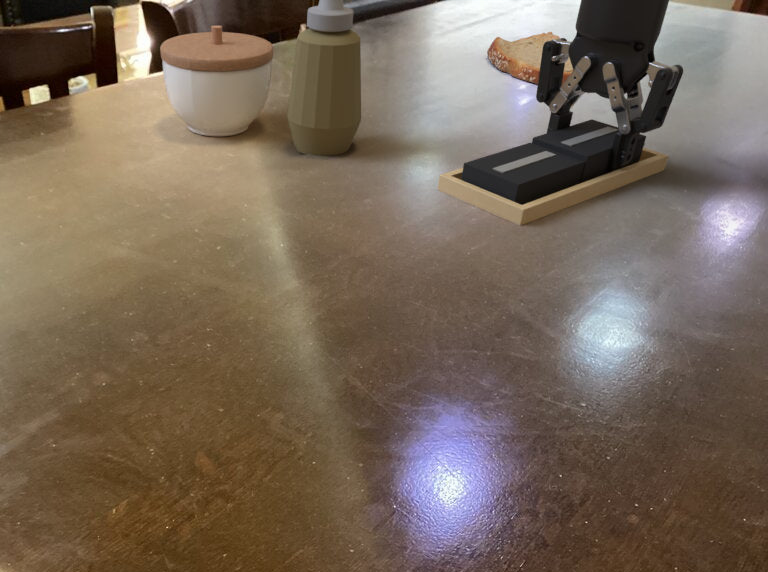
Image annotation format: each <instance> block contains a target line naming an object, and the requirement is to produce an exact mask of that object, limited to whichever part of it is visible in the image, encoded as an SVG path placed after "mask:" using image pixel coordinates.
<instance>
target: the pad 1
mask: <svg viewBox="0 0 768 572" xmlns="http://www.w3.org/2000/svg"><path fill="white" fill-rule="evenodd" d="M584 164H585V161H582V160H579V159H576V158H573V157H570V156H568V155H565V154H562V153H559V152H556V151H553V150H550V149H547V148H545V147H542V146H539V145H536V144H533V143H532V142H527V143H525V144H524V143H523V144H521V145H518V146H515V147H512V148H507V149H505V150H502V151H501V150H500V151H499V152H495V153H492V154H488V155H485V156H482V157H479V158H476V159H473V160H470V161H466V162H463V167H462V168H463V172H462V178H461V180H462V181H465V182H467V183H470V184H472V185H475V186H477V187H479V188H482V189H484V190H487V191H489V192H492V193H494V194H496V195H499V196H501V197H504V198H506V199H509V200H511V201H513V202H516V203H518V204H521V205H523V204H526V203H529V202H532V201H534V200H537V199H540V198H542V197H545V196H548V195H551V194H553V193H556V192H559V191H561V190H564V189H567V188H569V187H572V186H575V185H578V184H579V183H580V179H581V175H582V171H583V168H584Z"/></svg>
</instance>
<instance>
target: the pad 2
mask: <svg viewBox="0 0 768 572" xmlns="http://www.w3.org/2000/svg"><path fill="white" fill-rule="evenodd" d="M618 132H619V129H618V126H616V125H612V124H608V123H605V122H602V121H598V120H596V119H588V120H585V121H581V122H579V123H575V124H573V125H570V126H569V127H566V128H562V129H559V130H556V131H553V132H550V133H547V132H546V133H544V134H540V135H537V136H534V137H532V140H531V143H533V144H536V145H539V146H542V147H545V148H547V149H550V150H553V151H556V152H559V153H562V154H565V155H568V156H570V157H573V158H576V159H579V160H582V161H585V164H584V168H583V171H582V175H581V179H580V183H583V182H586V181H588V180H591V179H594V178H597V177H599V176H602V175H605V174H607V173H610V172H613V170H610V169H608V168H607V165H608V161H609V158H610V154H611V150H612V145H613V142H614V138H615V134H616V133H618ZM646 139H647V135H644V134H642V133H640V134H639V136H638V139H637V143H636V146H635V149H634V153H633V157H632V160H631V161H630V162H629V164H626V165H625V166H624V167H626V166H629V165H632V164H635V163H637V162H639V160H640V156H641V153H642V149H643V148H644V146H645V142H646ZM624 167H623V168H624ZM580 183H579V184H580Z"/></svg>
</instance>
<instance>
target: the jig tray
mask: <svg viewBox="0 0 768 572" xmlns="http://www.w3.org/2000/svg"><path fill="white" fill-rule="evenodd" d="M669 156H670V155H669V154H665V153H662V152H659V151H656V150H653V149H649V148H647V147H643V149H642V153H641V156H640V160H639V162H637V163H635V164H632V165H629V166H626V167H624V168H621V169H618V170H616V171H613V172H610V173H607V174H605V175H602V176H599V177H597V178H594V179H591V180H588V181H586V182H583V183H580V184H578V185H575V186H572V187H569V188H567V189H564V190H561V191H559V192H556V193H553V194H551V195H548V196H545V197H542V198H540V199H537V200H534V201H532V202H529V203H526V204H523V205H521V204H518V203H516V202H513V201H511V200H509V199H506V198H504V197H501V196H499V195H496V194H494V193H492V192H489V191H487V190H484V189H482V188H479V187H477V186H475V185H472V184H470V183H467V182H465V181H462V180H461V178H462V172H463V167H460V168H457V169H454V170H451V171H448V172H445V173H442V174H439V179H438V185H437V191H438V192H441V193H444V194H446V195H448V196H451V197H452V198H455V199H457V200H460V201H462V202H465V204H466V203H467V204H469V205H470V206H471V205H472V206H473V207H476V208H477V209H481V210H483V211H485V212H488V213H489V214H491V215H494V216H497V217H499V218H501V219H503V220H506V221H508V222H511V223H512V224H515V225H517V226H523V225H526V224H529V223H532V222H534V221H536V220H539V219H541V218H544V217H546V216H549V215H552V214H554V213H557V212H560V211H562V210H564V209H567V208H570V207H573V206H575V205H578V204H581V203H583V202H586V201H588V200H590V199H593V198H596V197H598V196H601V195H603V194H606V193H608V192H611V191H614V190H616V189H619V188H621V187H624V186H626V185H630V184H631V183H632V184H633V183H634V182H637V181H640V180H642V179H645V178H647V177H651V176H653V175H654V174H658V173H660V172H662V171H664V170H665V169H666V166H667V162H668V159H669Z"/></svg>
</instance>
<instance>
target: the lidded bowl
mask: <svg viewBox="0 0 768 572" xmlns="http://www.w3.org/2000/svg"><path fill="white" fill-rule="evenodd" d="M159 48H160V50H159V51H160V58H161V60H162V62H161V63H162V75H163V82H164V88H165V93H166V96H167V100H168V101H169V104H170V107H171V108H172V109H173V111H174V112H175V114H176V116H178V117H179V119H180V120H181V121H182V122H183V123H185V124H186V125H187V129H188V130H189V131H190V132H192V133H195V134H198V135H201V136H205V137H229V136H235V135H239V134H241V133H244V132H246V131H248V129H249V125H250V124H252V123H253V121H255V120H256V119H257V118H258V116H259V115H260V114H261V112H262V110H263V109H264V107H265V105H266V103H267V100H268V97H269V93H270V87H271V81H272V71H273V58H274V46H273V44H272V42H271V41H268V40H267V39H265V38H262V37H259V36H256V35H251V34H247V33H240V32H228V31H223V25H211V26H210V31H206V32H205V31H204V32H193V33H186V34H181V35H180V34H179V35H177V36H173V37H170V38H168V39H166V40H164V41H163V42H162V43H161V45H160V47H159Z"/></svg>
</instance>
